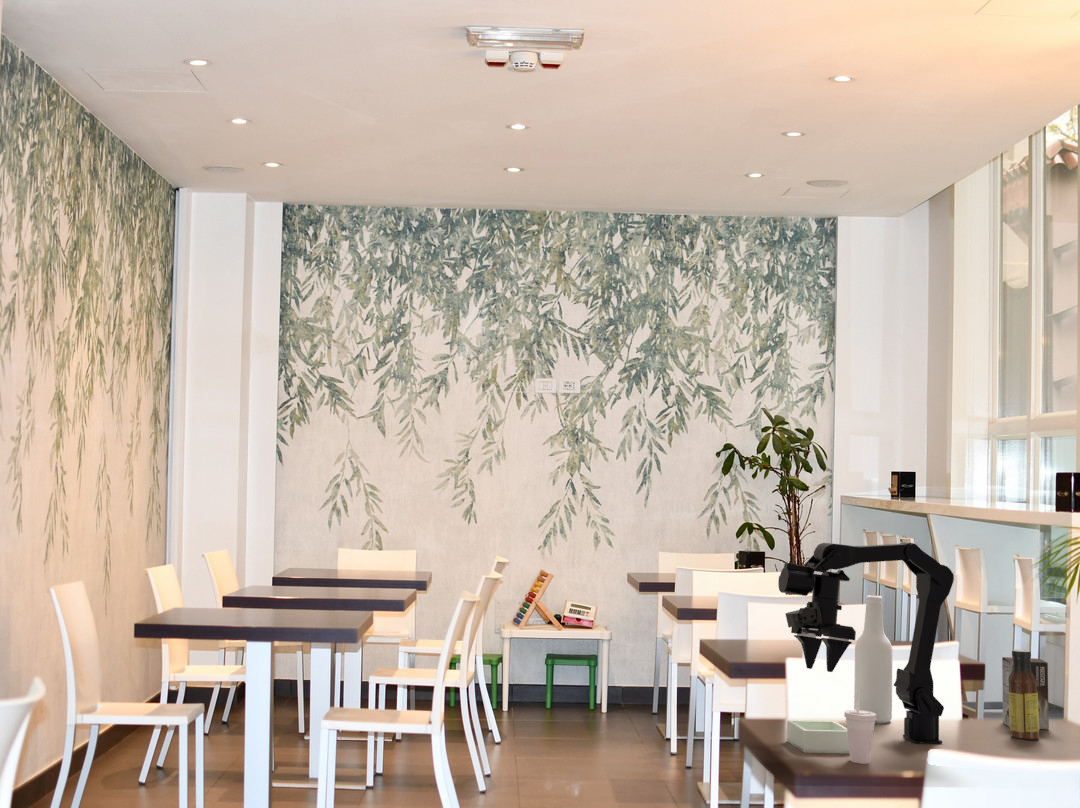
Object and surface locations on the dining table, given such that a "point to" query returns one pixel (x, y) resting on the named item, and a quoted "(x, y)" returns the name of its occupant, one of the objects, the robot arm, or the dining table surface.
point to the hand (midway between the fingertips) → (819, 670)
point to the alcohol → (874, 664)
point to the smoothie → (860, 733)
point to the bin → (818, 736)
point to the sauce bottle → (1023, 698)
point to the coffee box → (1041, 675)
